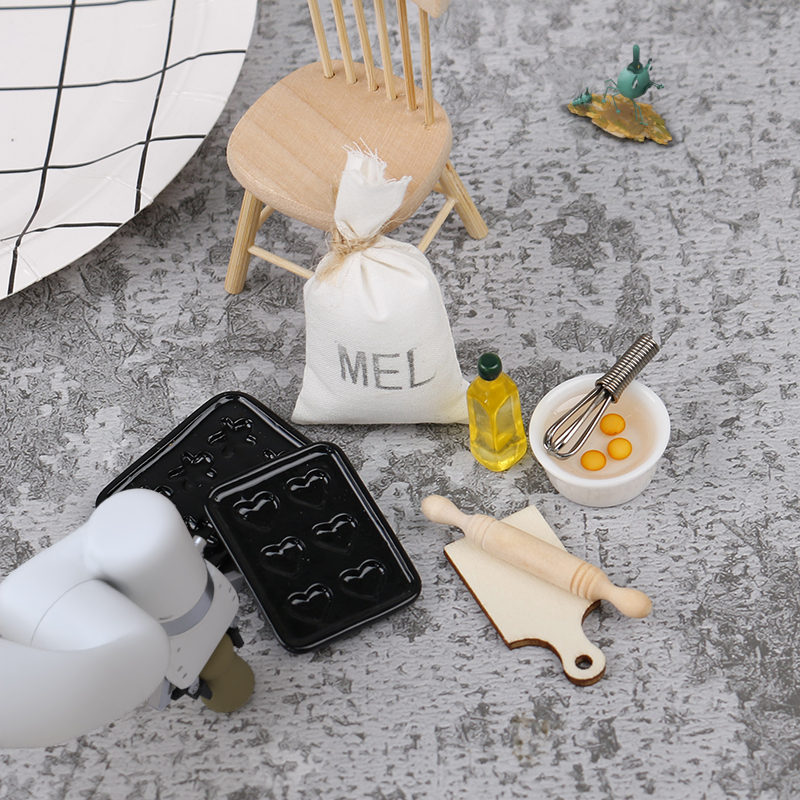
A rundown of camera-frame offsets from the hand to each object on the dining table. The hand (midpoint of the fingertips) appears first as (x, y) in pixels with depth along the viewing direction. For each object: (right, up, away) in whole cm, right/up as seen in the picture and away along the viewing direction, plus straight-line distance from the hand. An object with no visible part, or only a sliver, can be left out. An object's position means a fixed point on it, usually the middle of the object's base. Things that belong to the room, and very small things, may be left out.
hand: (214, 665), depth 96 cm
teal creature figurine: (+54, +71, +54) cm, 104 cm away
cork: (0, -4, +5) cm, 6 cm away
